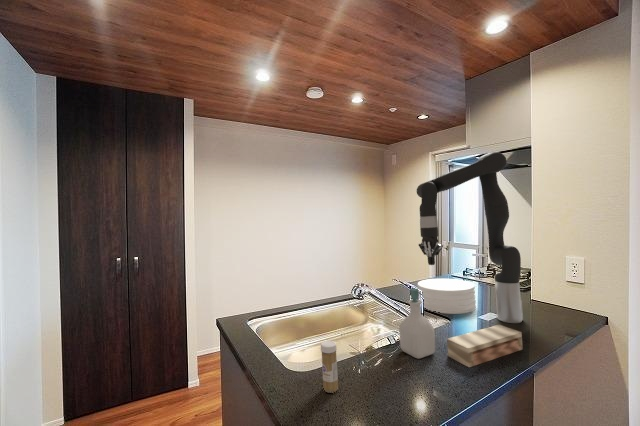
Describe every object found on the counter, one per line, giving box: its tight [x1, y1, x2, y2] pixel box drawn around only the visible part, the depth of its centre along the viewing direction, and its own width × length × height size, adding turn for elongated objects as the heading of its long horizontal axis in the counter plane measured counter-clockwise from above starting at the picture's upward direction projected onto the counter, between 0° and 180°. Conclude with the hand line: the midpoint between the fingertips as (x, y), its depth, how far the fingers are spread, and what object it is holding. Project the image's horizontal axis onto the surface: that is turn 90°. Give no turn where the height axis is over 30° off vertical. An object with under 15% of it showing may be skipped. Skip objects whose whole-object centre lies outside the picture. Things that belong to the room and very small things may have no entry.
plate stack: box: [417, 278, 477, 315], centre depth 156 cm, size 28×28×12 cm
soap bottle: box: [398, 288, 436, 360], centre depth 104 cm, size 10×10×23 cm
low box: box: [446, 324, 524, 368], centre depth 101 cm, size 26×8×6 cm, turn 112°
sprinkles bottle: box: [320, 340, 339, 392], centre depth 84 cm, size 5×5×14 cm
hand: (431, 264), depth 131 cm, fingers closed
